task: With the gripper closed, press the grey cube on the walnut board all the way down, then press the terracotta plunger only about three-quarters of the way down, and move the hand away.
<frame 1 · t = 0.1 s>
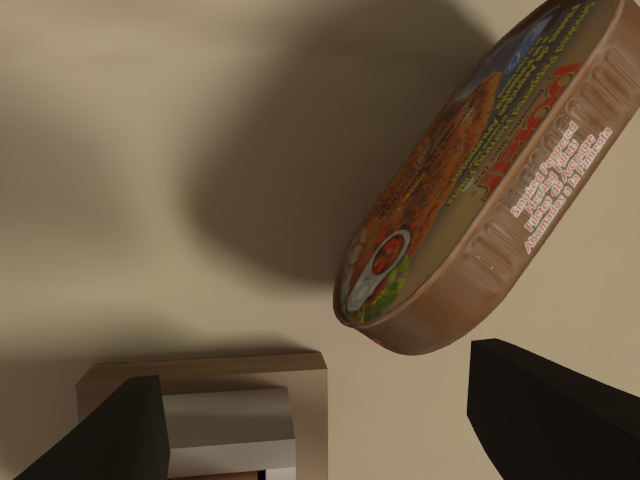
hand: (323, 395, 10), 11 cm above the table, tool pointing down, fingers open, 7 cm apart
tin: (434, 174, 21), on the table
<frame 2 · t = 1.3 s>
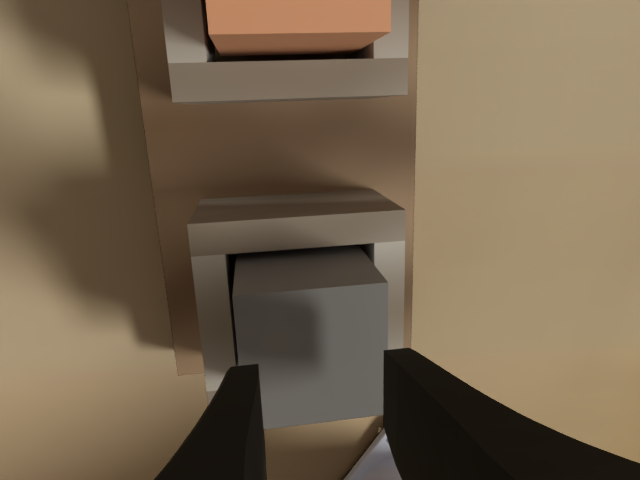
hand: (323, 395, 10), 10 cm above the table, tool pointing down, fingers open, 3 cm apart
grey cube: (306, 325, 14), point 7 cm above the table, slide at 0.0 cm
press board: (283, 145, 19), on the table
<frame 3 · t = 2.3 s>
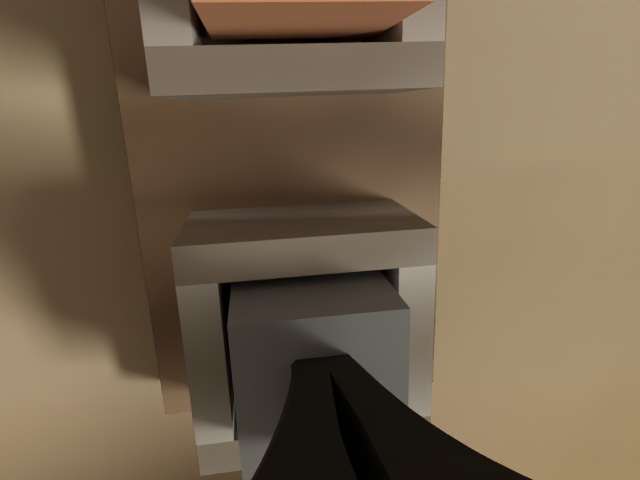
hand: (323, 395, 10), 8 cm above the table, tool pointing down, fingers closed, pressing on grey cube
grey cube: (312, 353, 12), point 6 cm above the table, slide at 0.8 cm, touching gripper
press board: (286, 147, 17), on the table
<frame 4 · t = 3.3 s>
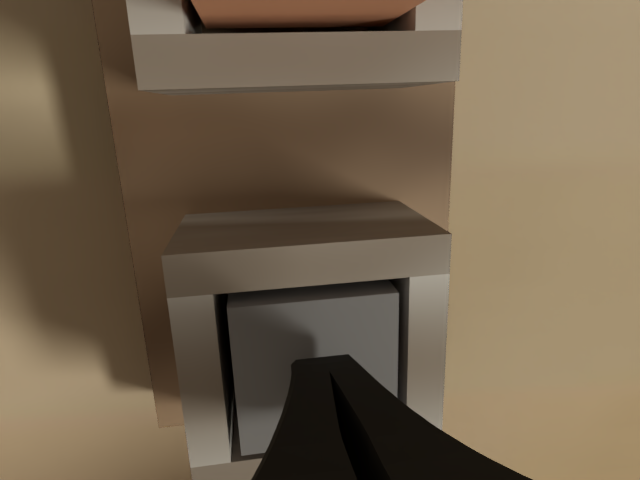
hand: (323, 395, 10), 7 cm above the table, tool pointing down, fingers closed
grey cube: (308, 337, 13), point 4 cm above the table, slide at 2.4 cm
press board: (287, 146, 16), on the table
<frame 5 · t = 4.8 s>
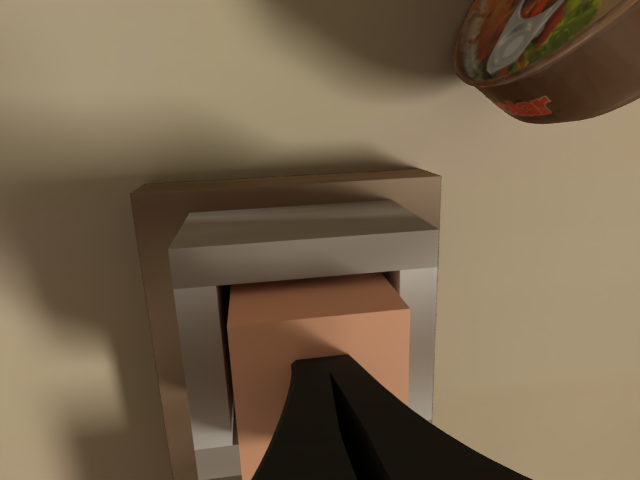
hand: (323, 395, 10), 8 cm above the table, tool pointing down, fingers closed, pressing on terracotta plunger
press board: (299, 392, 19), on the table
terracotta plunger: (312, 353, 12), point 6 cm above the table, slide at 1.0 cm, touching gripper
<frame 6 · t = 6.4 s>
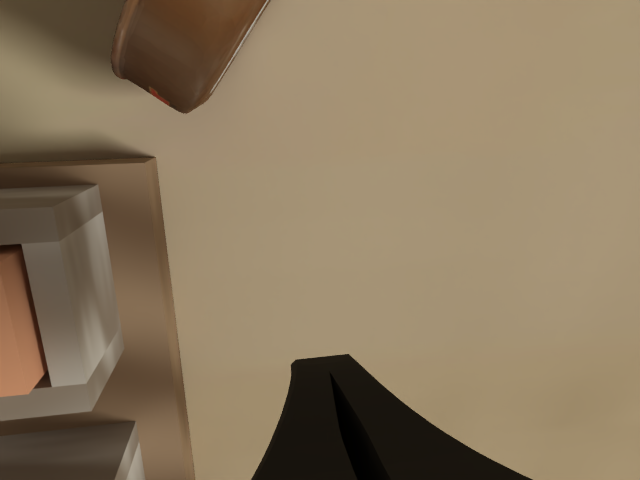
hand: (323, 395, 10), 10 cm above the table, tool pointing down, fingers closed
press board: (63, 367, 20), on the table
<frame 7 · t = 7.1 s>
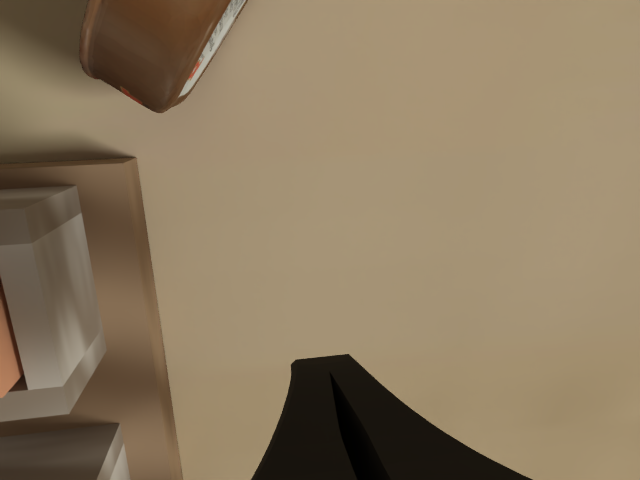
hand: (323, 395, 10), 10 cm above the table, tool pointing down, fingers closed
press board: (47, 369, 20), on the table
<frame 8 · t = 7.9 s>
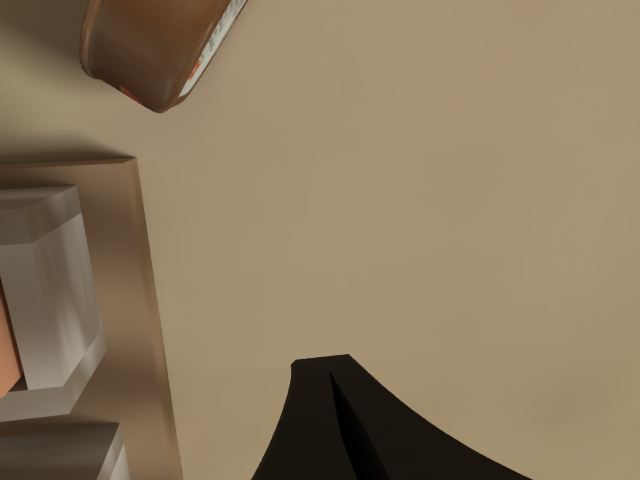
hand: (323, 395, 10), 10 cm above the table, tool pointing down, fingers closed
press board: (47, 369, 20), on the table
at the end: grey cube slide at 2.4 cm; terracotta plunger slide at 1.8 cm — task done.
